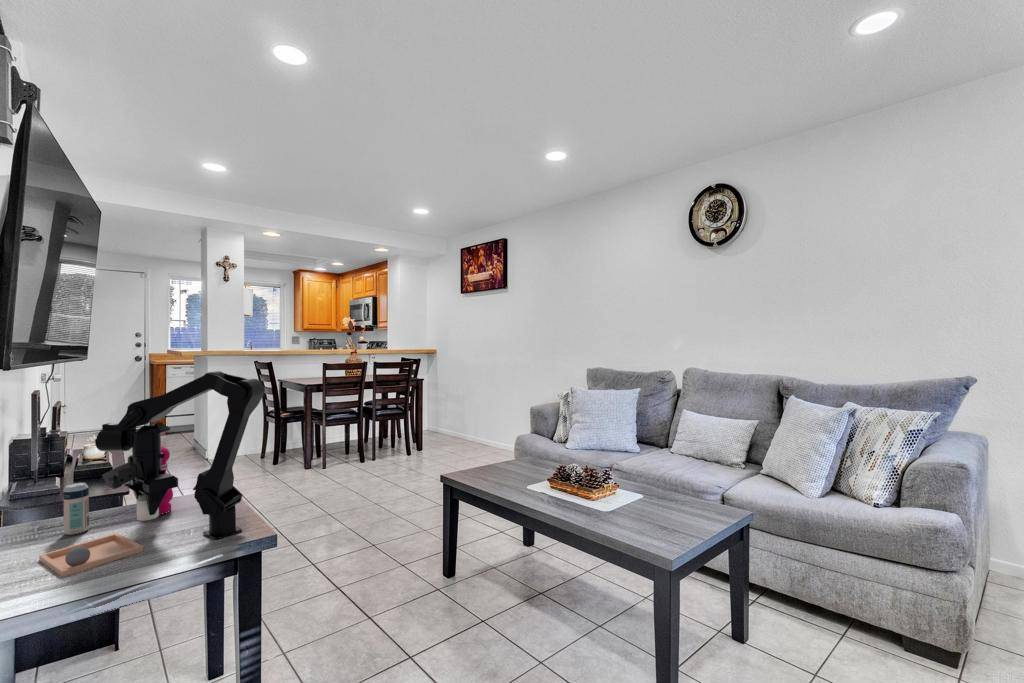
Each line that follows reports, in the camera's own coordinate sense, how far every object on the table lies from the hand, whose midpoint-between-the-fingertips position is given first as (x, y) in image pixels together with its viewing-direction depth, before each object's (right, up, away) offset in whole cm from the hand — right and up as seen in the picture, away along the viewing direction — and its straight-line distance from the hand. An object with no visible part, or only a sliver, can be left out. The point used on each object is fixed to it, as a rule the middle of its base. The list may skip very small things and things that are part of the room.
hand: (147, 512), depth 122 cm
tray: (-3, -6, -13) cm, 14 cm away
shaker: (0, -1, 0) cm, 1 cm away
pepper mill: (-8, -5, +15) cm, 18 cm away
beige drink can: (-19, -6, +1) cm, 20 cm away
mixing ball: (-2, -5, -17) cm, 18 cm away
